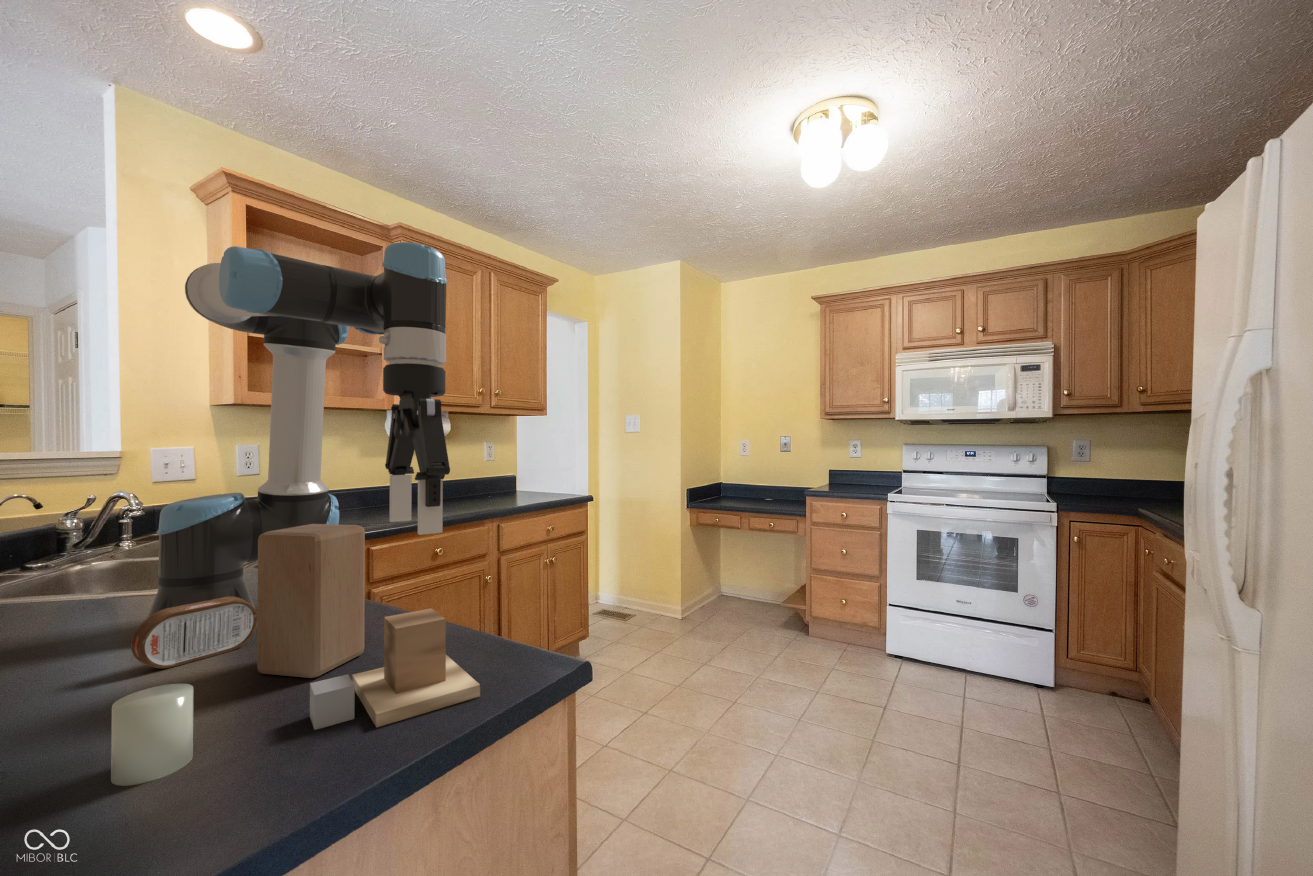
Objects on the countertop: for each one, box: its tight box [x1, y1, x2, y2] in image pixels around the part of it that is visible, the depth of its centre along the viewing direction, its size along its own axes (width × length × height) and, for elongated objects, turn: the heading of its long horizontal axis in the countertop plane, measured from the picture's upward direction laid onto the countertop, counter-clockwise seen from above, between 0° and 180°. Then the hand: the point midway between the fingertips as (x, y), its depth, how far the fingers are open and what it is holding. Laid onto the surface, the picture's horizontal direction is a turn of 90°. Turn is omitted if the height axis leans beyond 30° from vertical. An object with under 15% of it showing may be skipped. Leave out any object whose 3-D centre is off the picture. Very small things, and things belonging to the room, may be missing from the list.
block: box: [256, 523, 366, 679], centre depth 80 cm, size 10×10×20 cm
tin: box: [130, 597, 258, 669], centre depth 83 cm, size 15×3×8 cm, turn 150°
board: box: [351, 654, 481, 728], centre depth 71 cm, size 14×12×2 cm
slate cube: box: [309, 673, 356, 731], centre depth 64 cm, size 4×4×4 cm
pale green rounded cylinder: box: [110, 683, 194, 787], centre depth 54 cm, size 6×6×7 cm
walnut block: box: [383, 608, 447, 694], centre depth 71 cm, size 6×6×8 cm
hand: (414, 527), depth 71 cm, fingers open, 13 cm apart
